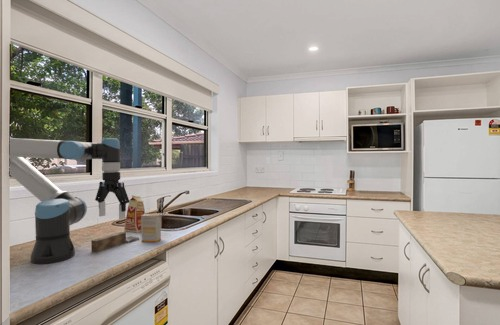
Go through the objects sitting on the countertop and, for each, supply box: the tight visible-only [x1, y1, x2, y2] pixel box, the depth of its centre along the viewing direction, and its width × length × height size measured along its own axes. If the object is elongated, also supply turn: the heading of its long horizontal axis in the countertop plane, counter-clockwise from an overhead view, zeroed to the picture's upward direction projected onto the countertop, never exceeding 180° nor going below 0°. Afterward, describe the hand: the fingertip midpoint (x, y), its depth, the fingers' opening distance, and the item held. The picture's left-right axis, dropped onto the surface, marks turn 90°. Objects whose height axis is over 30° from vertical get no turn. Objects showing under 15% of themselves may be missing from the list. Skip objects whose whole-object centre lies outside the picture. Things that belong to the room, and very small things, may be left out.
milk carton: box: [123, 195, 146, 233], centre depth 166 cm, size 9×9×20 cm
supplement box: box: [140, 213, 162, 243], centre depth 144 cm, size 8×5×13 cm, turn 84°
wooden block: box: [90, 231, 140, 253], centre depth 137 cm, size 23×6×5 cm, turn 155°
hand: (112, 217), depth 136 cm, fingers open, 13 cm apart
